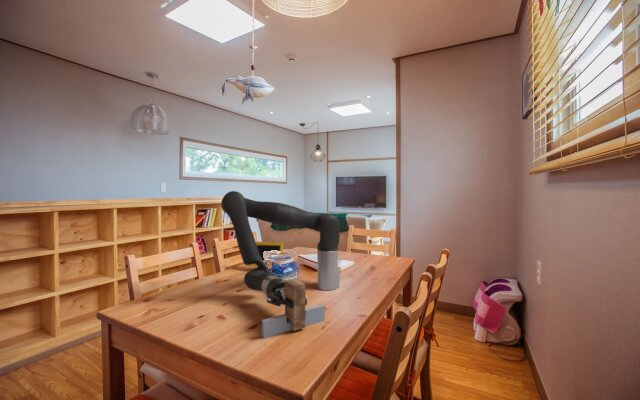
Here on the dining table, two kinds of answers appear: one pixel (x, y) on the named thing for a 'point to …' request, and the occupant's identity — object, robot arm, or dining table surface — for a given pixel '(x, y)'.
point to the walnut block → (295, 303)
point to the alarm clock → (267, 249)
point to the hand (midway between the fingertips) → (299, 303)
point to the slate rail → (282, 325)
